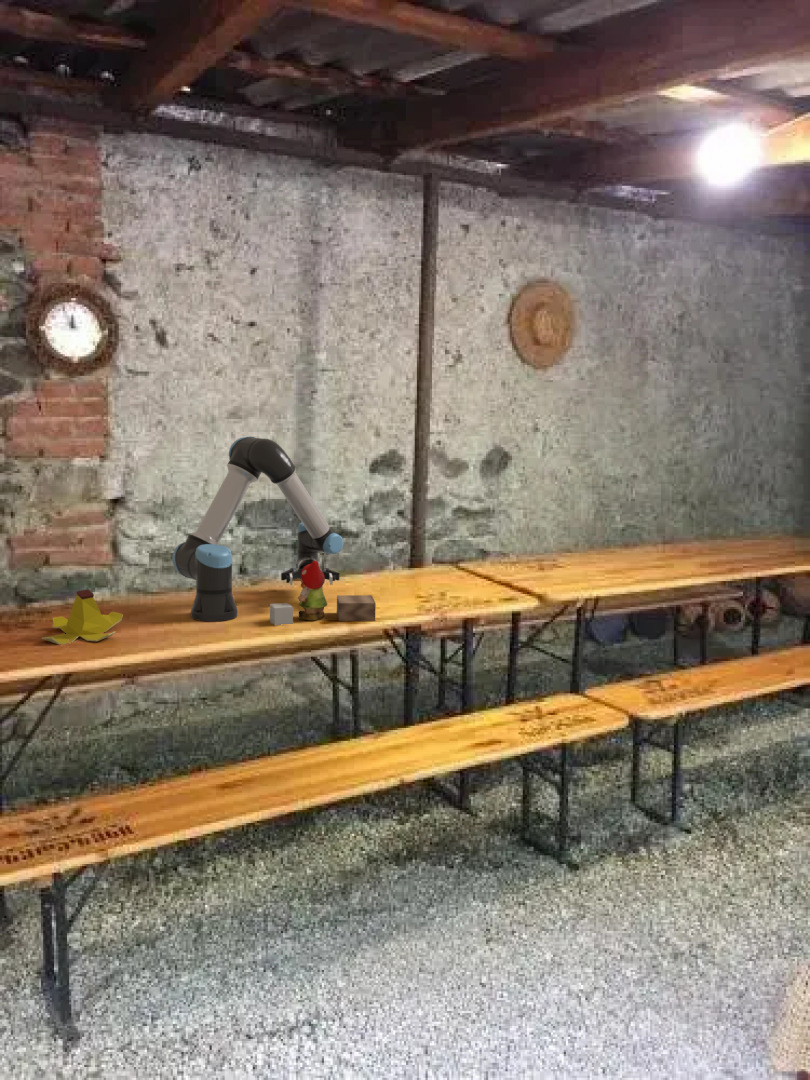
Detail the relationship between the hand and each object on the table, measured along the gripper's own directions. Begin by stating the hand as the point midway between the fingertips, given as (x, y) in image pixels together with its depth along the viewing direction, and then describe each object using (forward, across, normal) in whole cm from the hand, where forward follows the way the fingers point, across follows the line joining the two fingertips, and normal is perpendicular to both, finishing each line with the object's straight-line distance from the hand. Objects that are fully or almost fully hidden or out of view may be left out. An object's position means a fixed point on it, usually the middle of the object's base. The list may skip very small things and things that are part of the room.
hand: (311, 581), depth 333 cm
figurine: (+8, 0, -11) cm, 14 cm away
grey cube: (+14, +10, -11) cm, 21 cm away
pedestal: (+7, -15, -11) cm, 19 cm away
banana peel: (+26, +70, -11) cm, 76 cm away
